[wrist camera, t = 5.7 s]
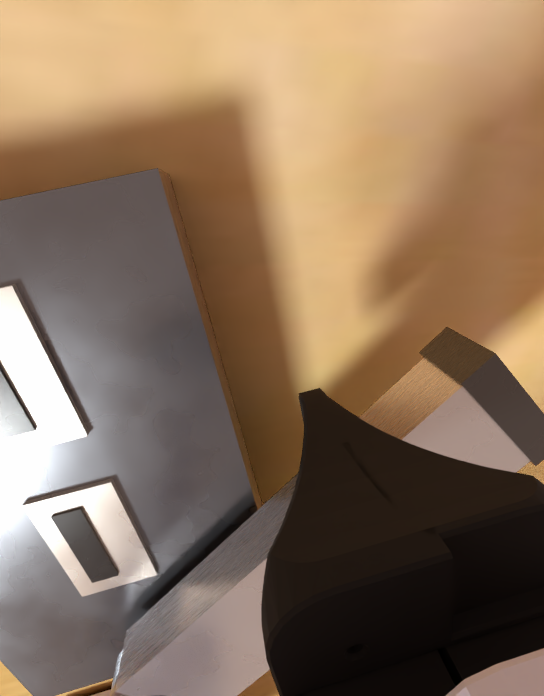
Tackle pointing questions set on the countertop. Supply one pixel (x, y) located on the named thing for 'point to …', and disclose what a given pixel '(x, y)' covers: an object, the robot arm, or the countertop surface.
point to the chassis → (105, 424)
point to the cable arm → (263, 526)
